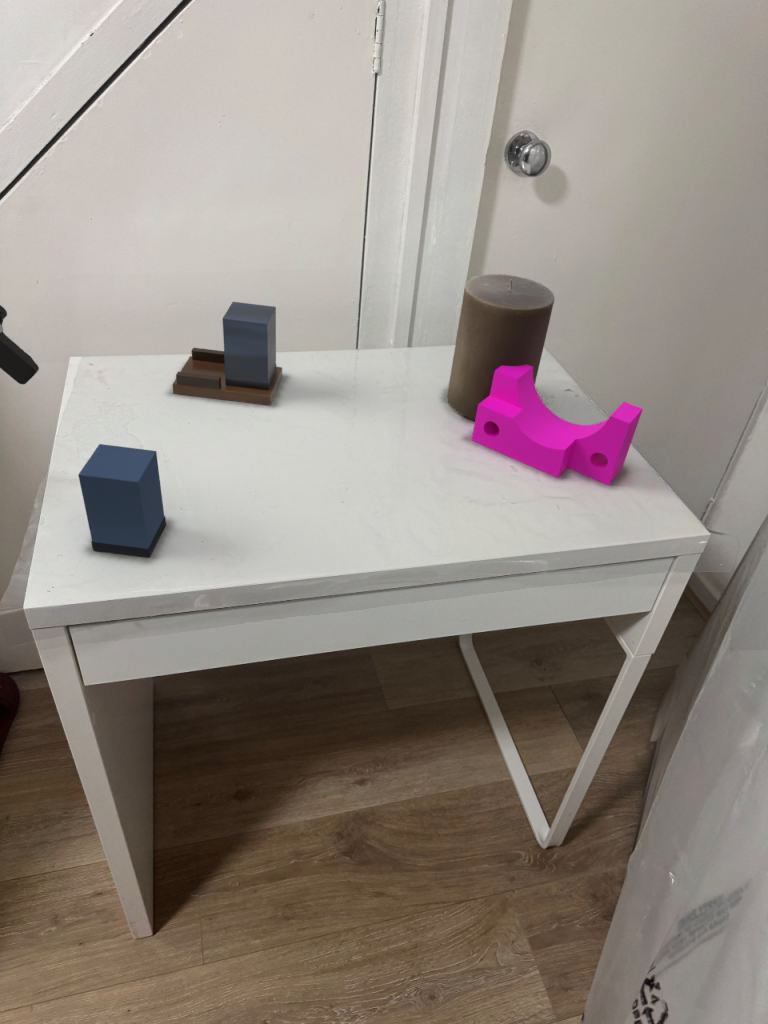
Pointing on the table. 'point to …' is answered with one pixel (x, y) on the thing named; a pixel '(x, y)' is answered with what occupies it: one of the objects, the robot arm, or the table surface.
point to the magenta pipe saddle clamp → (550, 430)
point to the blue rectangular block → (123, 500)
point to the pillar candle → (496, 334)
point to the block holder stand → (236, 359)
